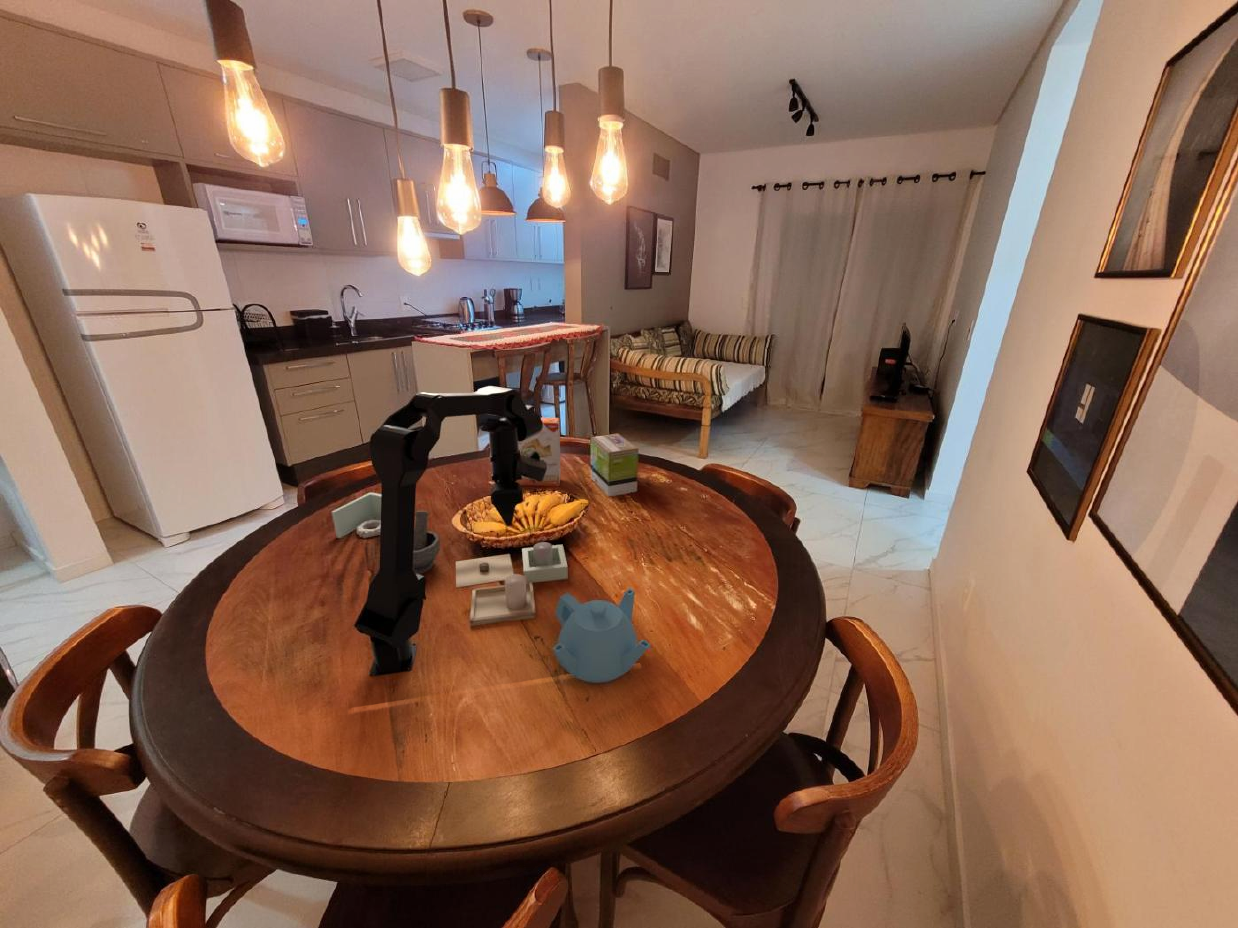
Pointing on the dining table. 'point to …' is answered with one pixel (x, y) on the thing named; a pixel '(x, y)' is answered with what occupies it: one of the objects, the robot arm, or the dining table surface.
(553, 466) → the cracker box
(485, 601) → the birch tray
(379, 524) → the right angle wall
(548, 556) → the grey rounded piece
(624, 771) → the dining table surface
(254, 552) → the dining table surface
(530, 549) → the sage bin
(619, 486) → the tea box
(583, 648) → the teapot
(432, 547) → the mortar and pestle
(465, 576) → the tray lid
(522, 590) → the pale pebble
